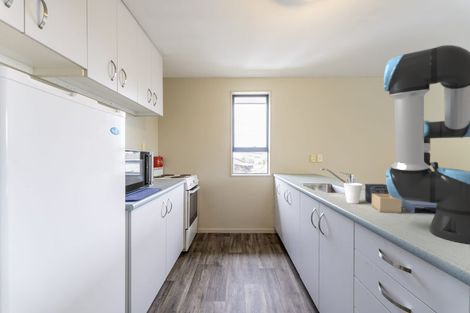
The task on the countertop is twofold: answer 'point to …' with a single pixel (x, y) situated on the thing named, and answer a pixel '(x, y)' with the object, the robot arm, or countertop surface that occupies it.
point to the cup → (352, 192)
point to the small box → (374, 190)
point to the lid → (418, 205)
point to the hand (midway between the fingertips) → (419, 194)
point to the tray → (386, 203)
